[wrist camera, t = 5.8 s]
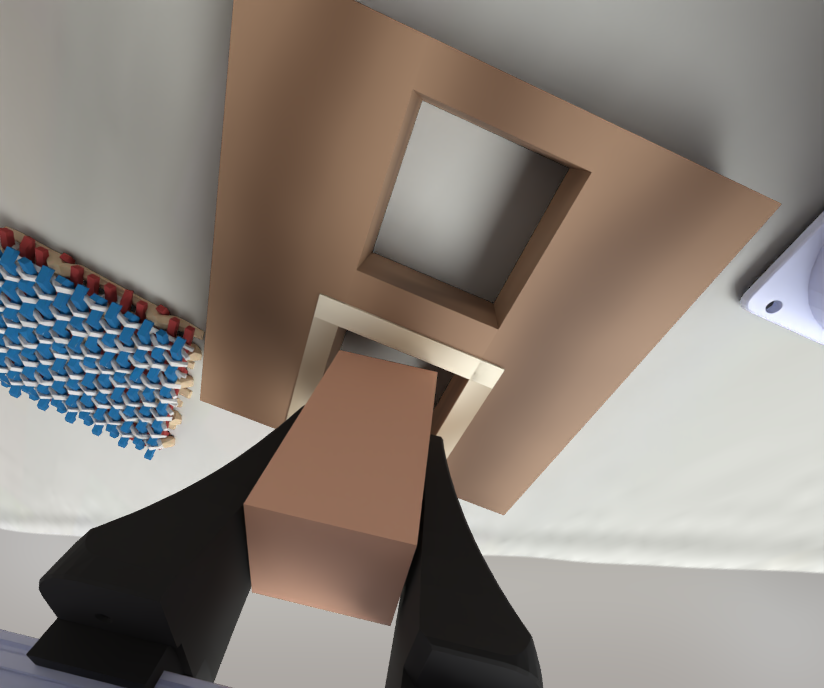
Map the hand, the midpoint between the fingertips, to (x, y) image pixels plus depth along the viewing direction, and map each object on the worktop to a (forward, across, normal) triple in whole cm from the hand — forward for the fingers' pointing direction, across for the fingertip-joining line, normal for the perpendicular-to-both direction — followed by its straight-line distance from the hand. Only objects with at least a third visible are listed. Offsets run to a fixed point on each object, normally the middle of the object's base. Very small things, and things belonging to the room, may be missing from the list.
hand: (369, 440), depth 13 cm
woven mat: (+6, +16, +3) cm, 17 cm away
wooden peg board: (+5, -1, -4) cm, 6 cm away
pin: (+2, 0, 0) cm, 2 cm away
